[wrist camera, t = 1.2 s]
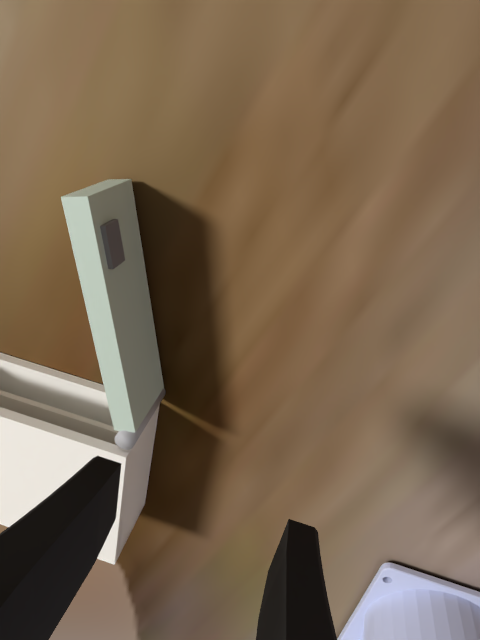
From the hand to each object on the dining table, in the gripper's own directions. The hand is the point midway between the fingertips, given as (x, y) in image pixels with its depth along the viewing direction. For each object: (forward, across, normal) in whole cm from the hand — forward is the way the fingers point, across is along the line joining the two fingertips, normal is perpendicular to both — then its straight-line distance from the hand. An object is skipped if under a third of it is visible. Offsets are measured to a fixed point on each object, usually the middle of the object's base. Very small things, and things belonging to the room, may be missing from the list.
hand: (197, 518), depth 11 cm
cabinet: (+10, +10, +10) cm, 18 cm away
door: (+10, +6, +1) cm, 12 cm away
